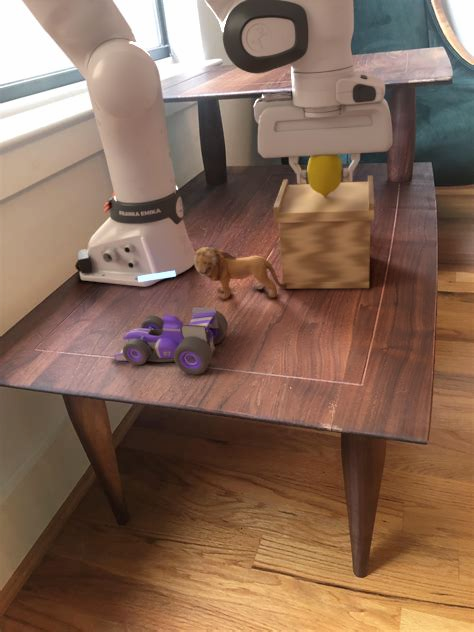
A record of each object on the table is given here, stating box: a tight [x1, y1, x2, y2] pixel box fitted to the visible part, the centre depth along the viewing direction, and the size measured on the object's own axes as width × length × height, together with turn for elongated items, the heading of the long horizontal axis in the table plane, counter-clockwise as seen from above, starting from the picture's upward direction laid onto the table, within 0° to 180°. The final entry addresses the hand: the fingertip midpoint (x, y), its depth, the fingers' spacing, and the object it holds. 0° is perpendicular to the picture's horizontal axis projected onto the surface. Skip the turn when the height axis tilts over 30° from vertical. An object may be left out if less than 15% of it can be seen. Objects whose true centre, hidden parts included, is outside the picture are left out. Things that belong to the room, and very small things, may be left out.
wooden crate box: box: [273, 175, 375, 290], centre depth 91 cm, size 15×13×15 cm
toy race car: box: [113, 306, 229, 376], centre depth 78 cm, size 10×15×6 cm, turn 74°
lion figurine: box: [194, 246, 288, 300], centre depth 89 cm, size 15×5×9 cm, turn 89°
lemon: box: [306, 154, 343, 197], centre depth 86 cm, size 6×6×8 cm
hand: (324, 181), depth 87 cm, fingers open, 6 cm apart
